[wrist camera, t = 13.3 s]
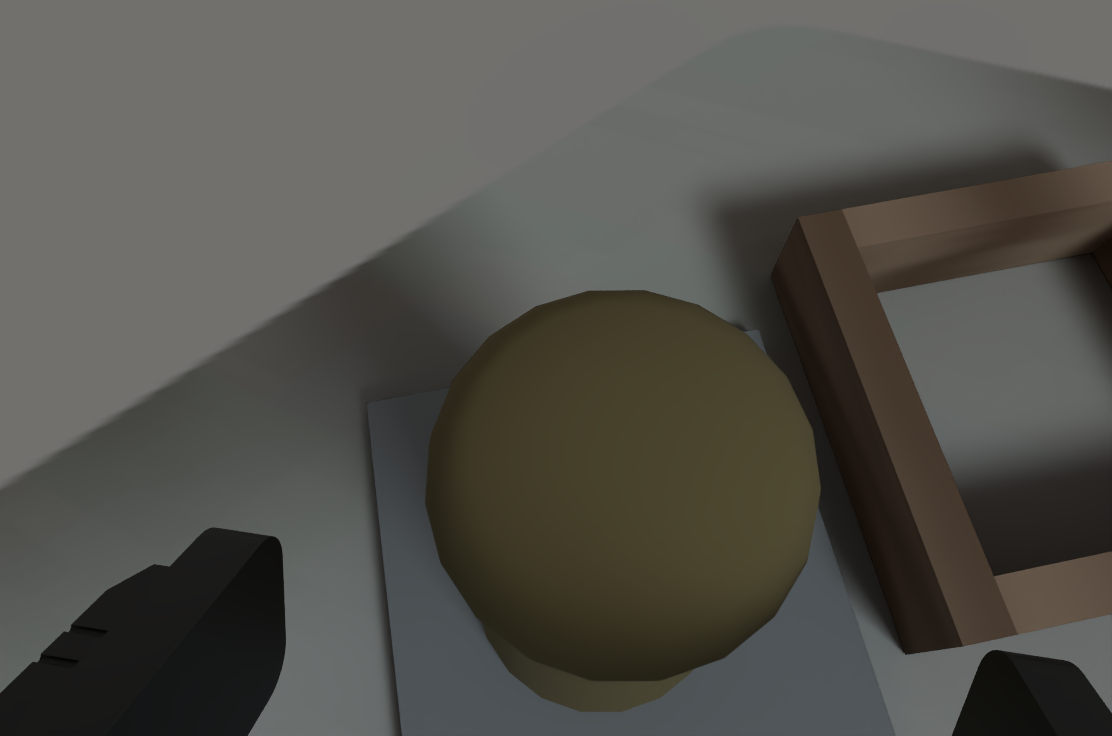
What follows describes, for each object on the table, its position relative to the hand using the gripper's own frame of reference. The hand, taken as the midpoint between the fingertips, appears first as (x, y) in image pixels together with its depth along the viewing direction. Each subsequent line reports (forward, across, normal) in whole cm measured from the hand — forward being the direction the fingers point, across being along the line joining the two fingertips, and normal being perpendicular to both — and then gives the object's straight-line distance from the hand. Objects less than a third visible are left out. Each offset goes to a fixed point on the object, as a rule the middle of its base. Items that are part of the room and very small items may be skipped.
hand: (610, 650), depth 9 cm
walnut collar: (+14, -11, +1) cm, 17 cm away
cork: (+9, 0, +6) cm, 10 cm away
